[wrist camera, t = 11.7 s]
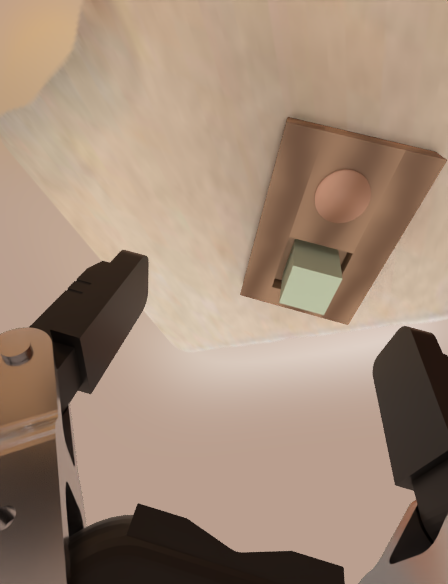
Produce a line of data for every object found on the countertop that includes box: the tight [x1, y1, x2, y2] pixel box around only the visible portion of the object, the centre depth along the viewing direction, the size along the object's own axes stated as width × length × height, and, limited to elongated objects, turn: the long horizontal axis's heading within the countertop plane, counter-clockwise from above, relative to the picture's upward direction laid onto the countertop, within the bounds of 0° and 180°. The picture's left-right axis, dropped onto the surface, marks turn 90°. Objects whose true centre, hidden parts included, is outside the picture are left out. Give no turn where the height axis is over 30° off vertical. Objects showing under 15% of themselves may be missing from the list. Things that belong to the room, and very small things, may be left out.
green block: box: [279, 239, 343, 315], centre depth 35 cm, size 5×5×6 cm
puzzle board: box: [240, 117, 447, 325], centre depth 34 cm, size 14×20×4 cm
